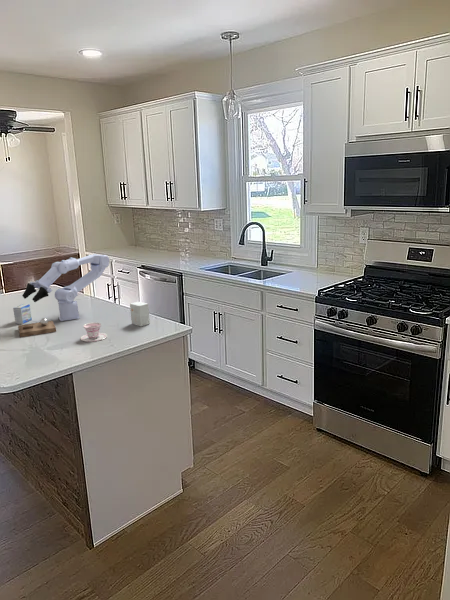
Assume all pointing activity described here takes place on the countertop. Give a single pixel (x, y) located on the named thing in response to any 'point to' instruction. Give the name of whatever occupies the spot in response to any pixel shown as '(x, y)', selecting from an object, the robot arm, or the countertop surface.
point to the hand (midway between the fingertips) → (28, 299)
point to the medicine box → (22, 314)
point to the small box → (139, 313)
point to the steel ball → (43, 321)
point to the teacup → (93, 332)
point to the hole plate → (36, 329)
